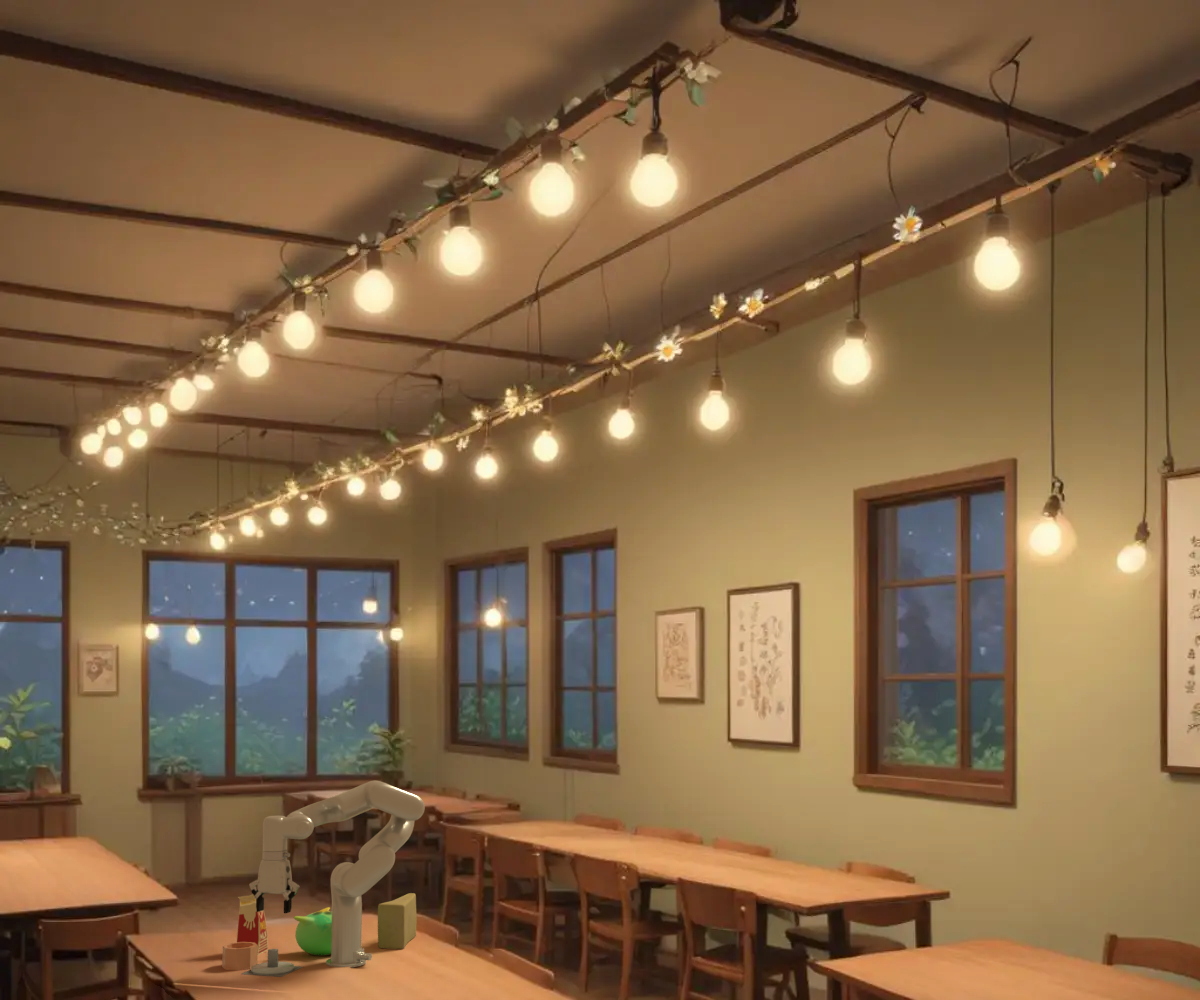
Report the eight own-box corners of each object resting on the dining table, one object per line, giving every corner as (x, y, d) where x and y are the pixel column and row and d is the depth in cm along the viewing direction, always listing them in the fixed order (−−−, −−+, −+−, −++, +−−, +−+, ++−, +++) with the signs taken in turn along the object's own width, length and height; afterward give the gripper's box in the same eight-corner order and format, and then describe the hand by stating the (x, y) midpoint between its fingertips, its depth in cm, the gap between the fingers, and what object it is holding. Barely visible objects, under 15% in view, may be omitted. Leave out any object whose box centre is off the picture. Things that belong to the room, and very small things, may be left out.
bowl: (262, 965, 420) (262, 943, 420) (244, 972, 410) (245, 949, 411) (234, 963, 423) (235, 941, 423) (216, 970, 413) (217, 947, 414)
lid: (301, 966, 415) (302, 946, 416) (280, 976, 403) (280, 955, 403) (265, 964, 419) (265, 944, 420) (242, 973, 406) (243, 953, 407)
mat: (303, 968, 415) (303, 966, 415) (280, 978, 402) (280, 976, 402) (264, 965, 419) (264, 963, 419) (240, 975, 406) (240, 973, 406)
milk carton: (268, 951, 441) (269, 889, 443) (258, 957, 432) (260, 894, 434) (242, 950, 442) (243, 889, 444) (231, 956, 433) (233, 894, 435)
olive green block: (401, 935, 465) (401, 891, 467) (427, 936, 463) (427, 892, 465) (376, 948, 444) (377, 902, 446) (403, 949, 442) (403, 903, 443)
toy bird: (356, 949, 442) (356, 904, 444) (341, 961, 425) (342, 914, 427) (303, 948, 444) (304, 904, 445) (287, 960, 427) (288, 913, 429)
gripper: (305, 855, 416) (304, 911, 414) (257, 853, 421) (256, 908, 419) (292, 858, 409) (291, 915, 407) (244, 856, 414) (242, 912, 412)
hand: (273, 911), depth 413 cm, fingers open, 9 cm apart
